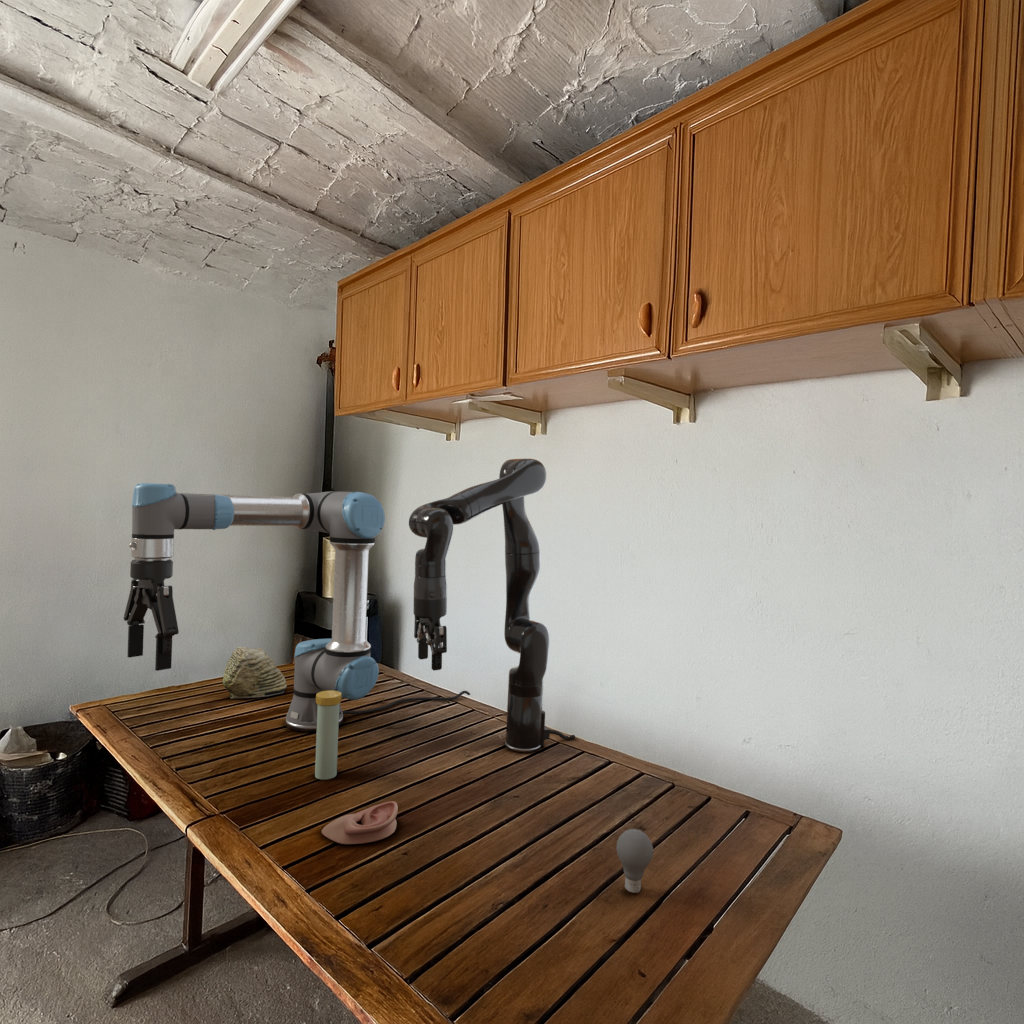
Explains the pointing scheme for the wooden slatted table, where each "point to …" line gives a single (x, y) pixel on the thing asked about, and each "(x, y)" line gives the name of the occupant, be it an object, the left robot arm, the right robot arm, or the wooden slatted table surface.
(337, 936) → the wooden slatted table surface
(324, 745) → the jar
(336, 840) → the anatomical model
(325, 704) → the lid
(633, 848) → the light bulb
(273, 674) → the fossil
